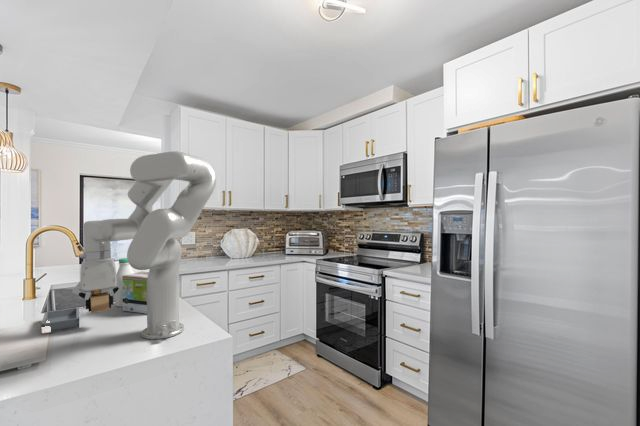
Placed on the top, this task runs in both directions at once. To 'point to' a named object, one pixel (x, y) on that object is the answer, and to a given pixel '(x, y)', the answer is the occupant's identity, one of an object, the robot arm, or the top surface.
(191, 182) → the robot arm
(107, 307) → the brown wooden cube
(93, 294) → the ball
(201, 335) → the top surface
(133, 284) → the tea box
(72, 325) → the tray
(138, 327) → the top surface
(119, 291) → the milk bottle
